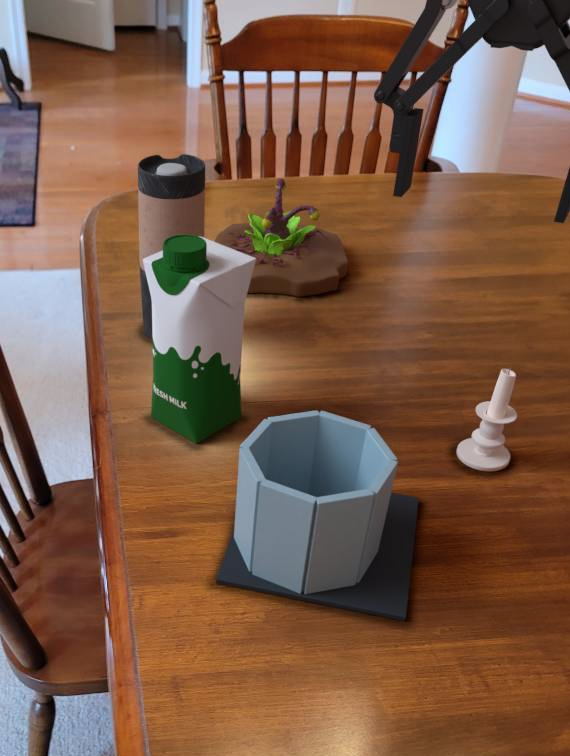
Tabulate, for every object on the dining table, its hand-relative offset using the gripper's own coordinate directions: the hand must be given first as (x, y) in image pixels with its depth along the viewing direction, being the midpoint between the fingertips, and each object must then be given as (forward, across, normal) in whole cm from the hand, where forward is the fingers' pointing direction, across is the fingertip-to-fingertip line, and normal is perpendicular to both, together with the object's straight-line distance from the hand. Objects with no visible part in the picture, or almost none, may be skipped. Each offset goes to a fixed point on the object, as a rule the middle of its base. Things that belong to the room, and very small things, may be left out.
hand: (478, 204), depth 72 cm
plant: (+24, -31, +30) cm, 49 cm away
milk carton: (+24, -23, -9) cm, 34 cm away
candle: (+24, +6, -1) cm, 25 cm away
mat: (+24, -4, -21) cm, 32 cm away
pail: (+18, -4, -23) cm, 30 cm away
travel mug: (+24, -35, +6) cm, 42 cm away
